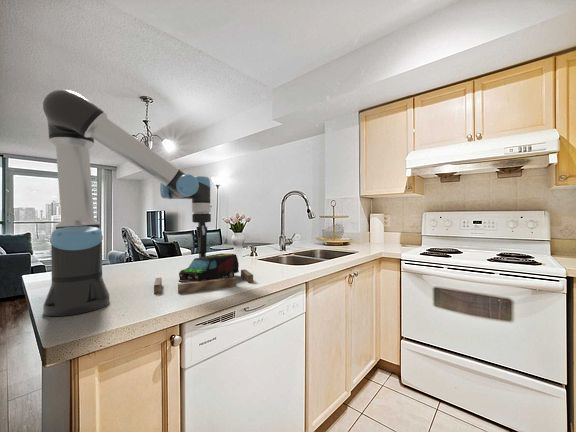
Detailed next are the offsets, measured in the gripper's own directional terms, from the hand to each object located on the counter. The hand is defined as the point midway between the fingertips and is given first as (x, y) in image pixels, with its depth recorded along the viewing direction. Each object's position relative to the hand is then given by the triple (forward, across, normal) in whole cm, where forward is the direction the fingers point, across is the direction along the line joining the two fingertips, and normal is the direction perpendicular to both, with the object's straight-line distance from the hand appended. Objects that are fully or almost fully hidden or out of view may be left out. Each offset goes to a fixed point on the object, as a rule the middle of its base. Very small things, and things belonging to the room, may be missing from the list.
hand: (202, 268), depth 113 cm
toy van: (+4, -7, -2) cm, 9 cm away
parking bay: (+4, -12, 0) cm, 13 cm away
